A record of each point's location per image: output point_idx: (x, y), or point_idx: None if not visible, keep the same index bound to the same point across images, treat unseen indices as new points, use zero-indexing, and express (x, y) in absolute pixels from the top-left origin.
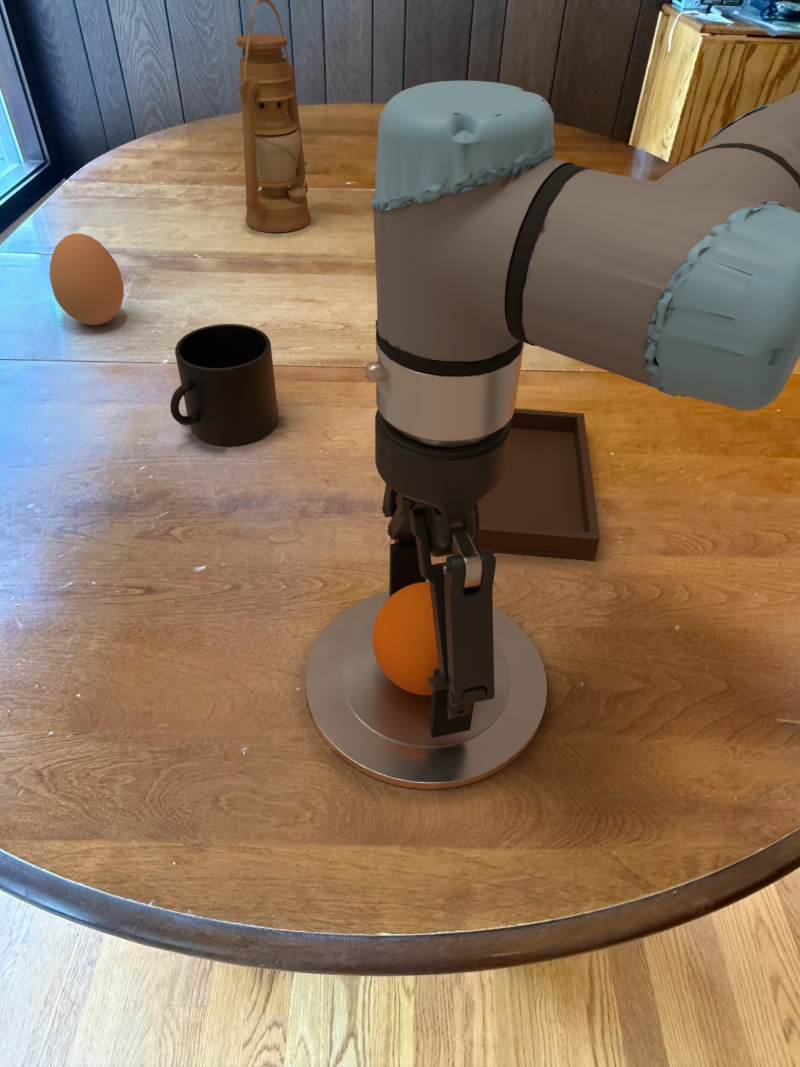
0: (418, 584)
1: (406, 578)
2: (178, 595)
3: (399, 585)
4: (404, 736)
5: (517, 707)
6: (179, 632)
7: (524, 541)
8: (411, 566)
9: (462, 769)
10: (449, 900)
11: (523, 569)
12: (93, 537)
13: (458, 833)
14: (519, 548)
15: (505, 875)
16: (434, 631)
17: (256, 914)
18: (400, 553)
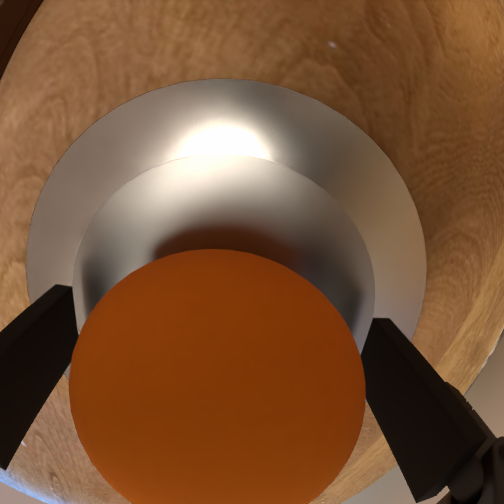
0: (108, 481)
1: (35, 375)
2: (55, 465)
3: (48, 377)
4: None
5: (359, 193)
6: (97, 480)
7: (2, 28)
8: (14, 392)
9: (405, 325)
10: (472, 360)
11: (44, 39)
12: (10, 470)
13: (442, 339)
14: (9, 39)
15: (489, 307)
16: (312, 499)
17: (387, 470)
18: (2, 449)
